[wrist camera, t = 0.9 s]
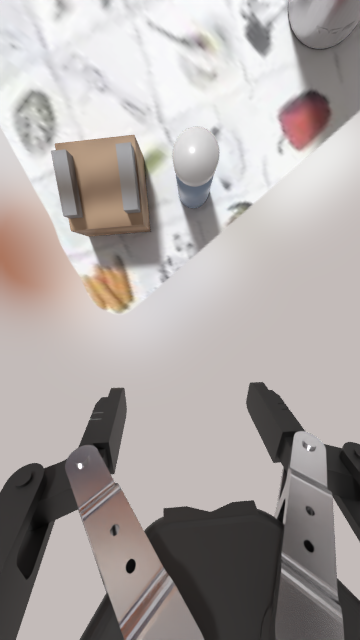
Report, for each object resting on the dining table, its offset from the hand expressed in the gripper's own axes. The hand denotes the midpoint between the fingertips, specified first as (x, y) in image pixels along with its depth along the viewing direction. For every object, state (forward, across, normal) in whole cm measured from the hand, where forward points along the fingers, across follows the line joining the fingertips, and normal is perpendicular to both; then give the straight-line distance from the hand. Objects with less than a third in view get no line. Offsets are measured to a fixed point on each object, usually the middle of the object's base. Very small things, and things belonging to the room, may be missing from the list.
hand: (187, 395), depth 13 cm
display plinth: (+26, +9, -14) cm, 31 cm away
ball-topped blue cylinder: (+25, -3, -16) cm, 29 cm away
